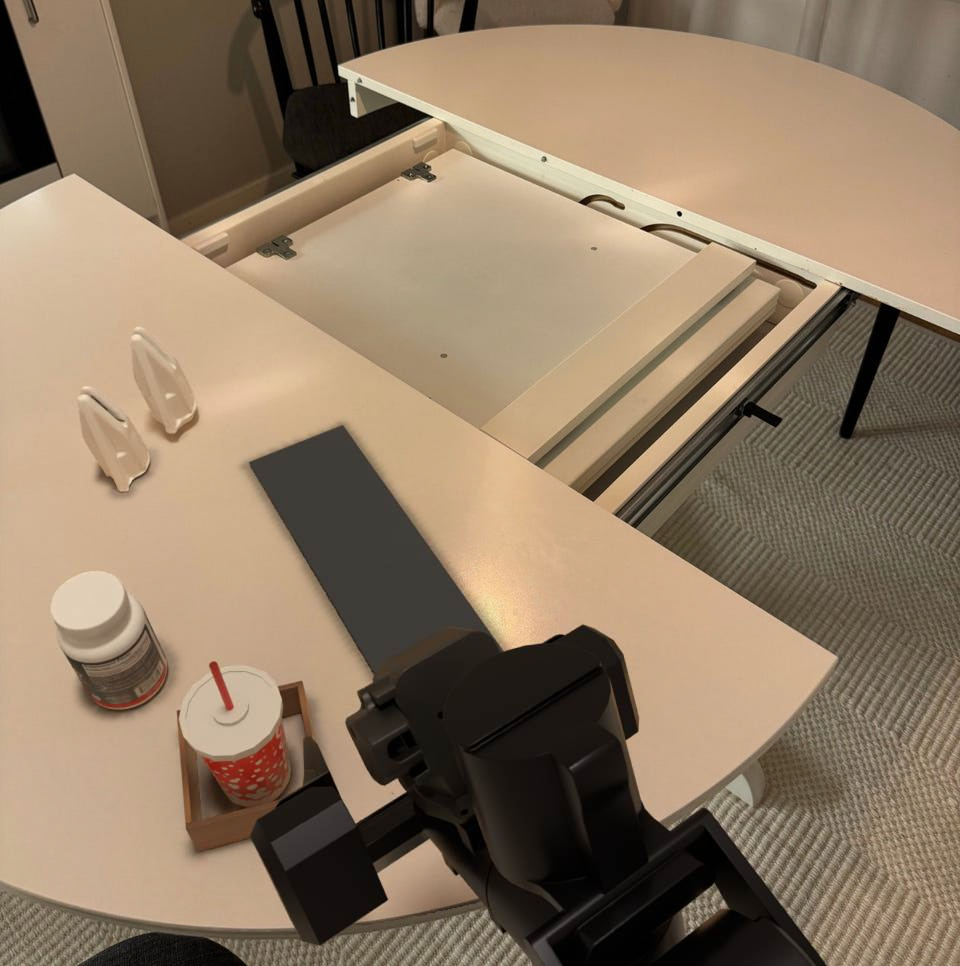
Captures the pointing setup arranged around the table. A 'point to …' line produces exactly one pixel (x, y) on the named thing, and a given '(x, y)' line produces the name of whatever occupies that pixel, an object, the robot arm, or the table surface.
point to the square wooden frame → (243, 820)
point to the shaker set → (113, 428)
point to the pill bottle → (108, 640)
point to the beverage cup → (239, 732)
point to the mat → (362, 546)
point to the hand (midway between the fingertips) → (385, 699)
